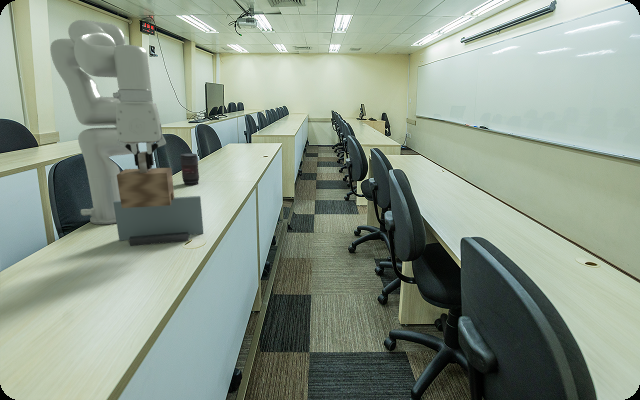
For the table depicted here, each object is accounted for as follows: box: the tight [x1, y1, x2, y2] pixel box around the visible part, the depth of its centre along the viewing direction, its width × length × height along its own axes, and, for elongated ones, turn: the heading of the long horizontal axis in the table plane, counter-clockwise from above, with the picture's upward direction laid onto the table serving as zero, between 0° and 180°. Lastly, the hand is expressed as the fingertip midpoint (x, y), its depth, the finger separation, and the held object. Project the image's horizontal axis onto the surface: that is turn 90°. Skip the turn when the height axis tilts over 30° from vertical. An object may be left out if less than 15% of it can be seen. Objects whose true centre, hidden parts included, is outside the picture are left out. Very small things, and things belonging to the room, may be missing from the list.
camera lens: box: [179, 153, 200, 186], centre depth 176 cm, size 8×8×15 cm
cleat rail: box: [128, 232, 190, 247], centre depth 104 cm, size 16×2×2 cm, turn 105°
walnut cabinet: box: [117, 150, 175, 208], centre depth 96 cm, size 12×8×14 cm, turn 104°
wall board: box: [113, 195, 204, 242], centre depth 108 cm, size 24×2×12 cm, turn 105°
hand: (145, 167), depth 96 cm, fingers closed on walnut cabinet, 1 cm apart
